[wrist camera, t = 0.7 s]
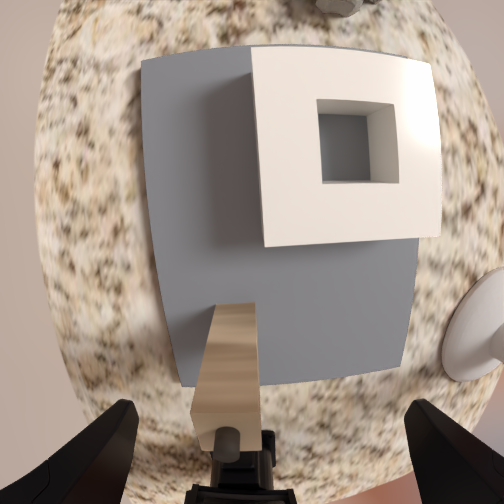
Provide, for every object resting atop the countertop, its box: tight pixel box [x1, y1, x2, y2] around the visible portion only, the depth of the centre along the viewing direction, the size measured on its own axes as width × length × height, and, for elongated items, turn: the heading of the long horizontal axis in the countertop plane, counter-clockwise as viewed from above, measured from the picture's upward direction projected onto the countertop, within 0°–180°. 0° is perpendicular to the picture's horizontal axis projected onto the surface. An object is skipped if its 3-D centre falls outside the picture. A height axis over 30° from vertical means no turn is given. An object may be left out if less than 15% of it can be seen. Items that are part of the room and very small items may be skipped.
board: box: [141, 44, 419, 387], centre depth 19 cm, size 24×18×1 cm
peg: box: [190, 302, 262, 463], centre depth 14 cm, size 3×3×11 cm
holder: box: [251, 46, 442, 247], centre depth 15 cm, size 10×10×4 cm
